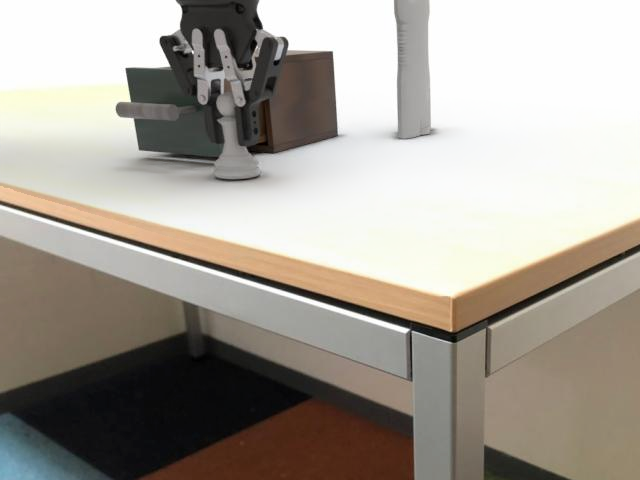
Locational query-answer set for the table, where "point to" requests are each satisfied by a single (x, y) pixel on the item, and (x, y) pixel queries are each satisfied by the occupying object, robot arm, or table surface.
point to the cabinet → (301, 102)
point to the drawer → (170, 114)
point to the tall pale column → (413, 68)
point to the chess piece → (233, 145)
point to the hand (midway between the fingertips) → (233, 143)
